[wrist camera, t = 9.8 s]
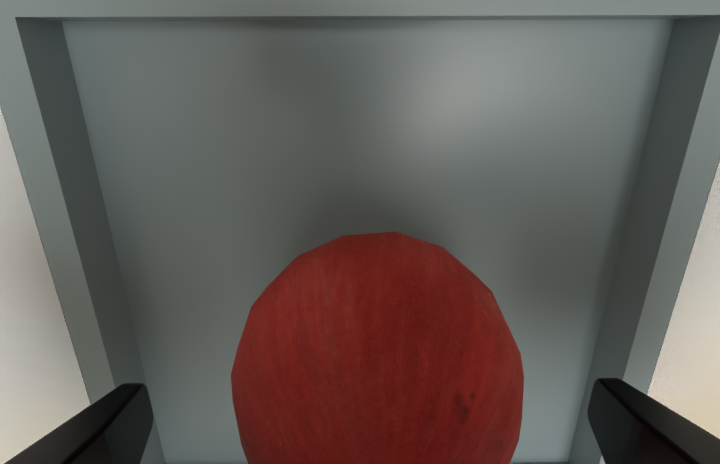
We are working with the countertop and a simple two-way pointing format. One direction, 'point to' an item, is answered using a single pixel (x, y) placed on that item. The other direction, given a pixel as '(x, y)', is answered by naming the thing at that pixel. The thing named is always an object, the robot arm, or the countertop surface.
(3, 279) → the countertop surface
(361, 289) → the onion
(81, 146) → the tray
